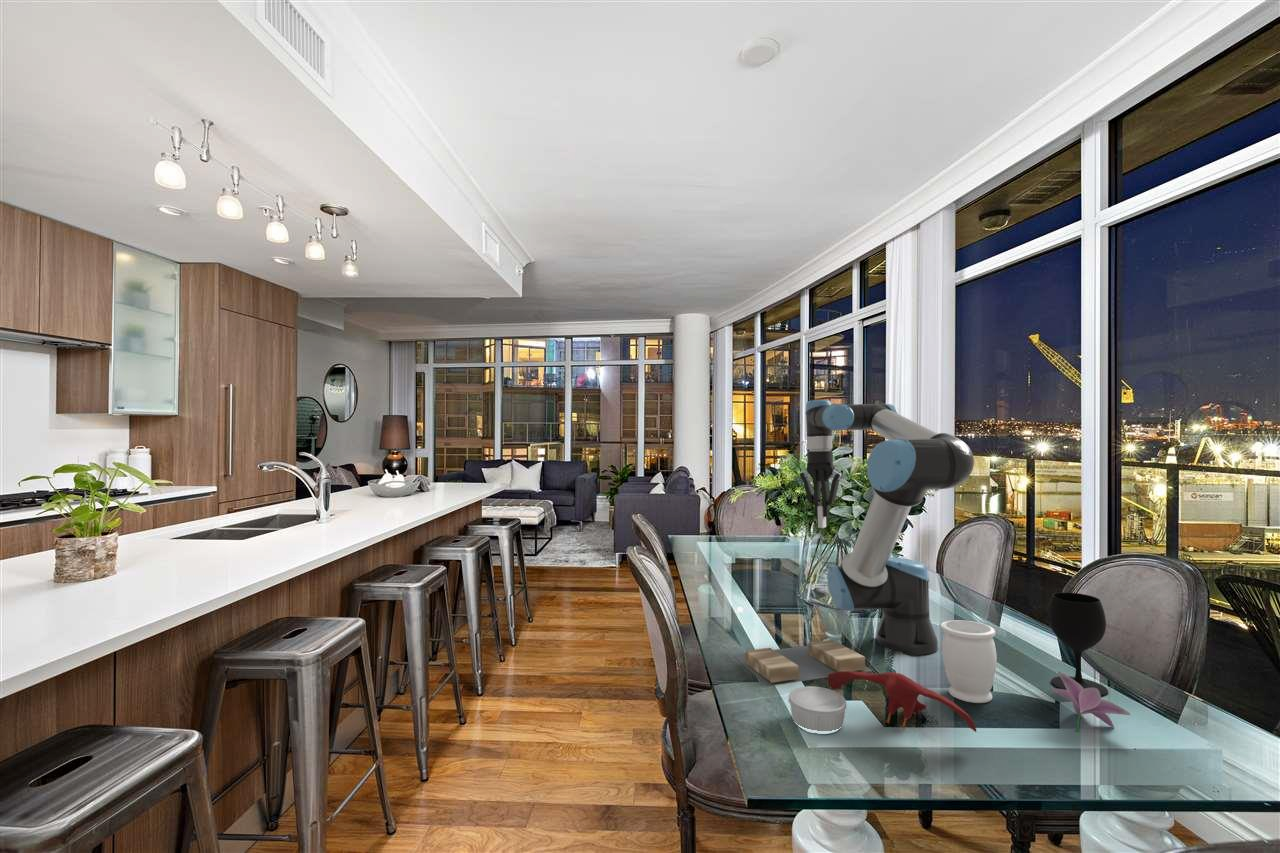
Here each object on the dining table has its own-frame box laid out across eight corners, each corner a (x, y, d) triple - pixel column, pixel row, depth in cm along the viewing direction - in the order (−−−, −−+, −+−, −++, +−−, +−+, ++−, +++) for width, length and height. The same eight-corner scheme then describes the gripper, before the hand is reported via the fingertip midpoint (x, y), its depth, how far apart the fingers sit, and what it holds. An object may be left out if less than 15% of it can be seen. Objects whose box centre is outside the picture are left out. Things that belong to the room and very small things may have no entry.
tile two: (745, 650, 150) (770, 669, 136) (770, 647, 151) (798, 665, 138) (745, 664, 149) (771, 684, 136) (770, 660, 151) (798, 680, 138)
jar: (977, 710, 123) (975, 637, 123) (933, 692, 132) (930, 624, 132) (1008, 699, 127) (1006, 629, 128) (963, 682, 137) (961, 616, 137)
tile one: (808, 642, 154) (839, 660, 141) (832, 639, 156) (864, 656, 143) (808, 655, 154) (840, 674, 141) (832, 652, 156) (865, 670, 142)
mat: (826, 645, 162) (826, 643, 162) (873, 673, 143) (873, 670, 143) (732, 657, 155) (732, 655, 155) (767, 688, 136) (767, 685, 136)
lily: (1138, 751, 108) (1143, 697, 111) (1076, 726, 108) (1082, 673, 111) (1086, 740, 119) (1092, 691, 122) (1030, 717, 120) (1037, 669, 123)
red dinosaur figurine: (838, 720, 129) (813, 683, 122) (851, 681, 134) (828, 644, 127) (983, 769, 109) (963, 729, 102) (992, 721, 114) (974, 680, 107)
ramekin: (839, 744, 111) (838, 715, 111) (781, 729, 117) (780, 702, 117) (852, 719, 120) (852, 692, 121) (798, 707, 126) (797, 682, 126)
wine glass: (1097, 680, 136) (1094, 593, 136) (1117, 699, 126) (1113, 605, 126) (1044, 675, 139) (1041, 590, 139) (1059, 694, 129) (1056, 602, 130)
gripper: (845, 449, 180) (847, 527, 180) (805, 450, 189) (807, 524, 188) (835, 450, 175) (838, 530, 174) (794, 450, 183) (796, 527, 183)
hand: (822, 527), depth 181 cm, fingers closed
